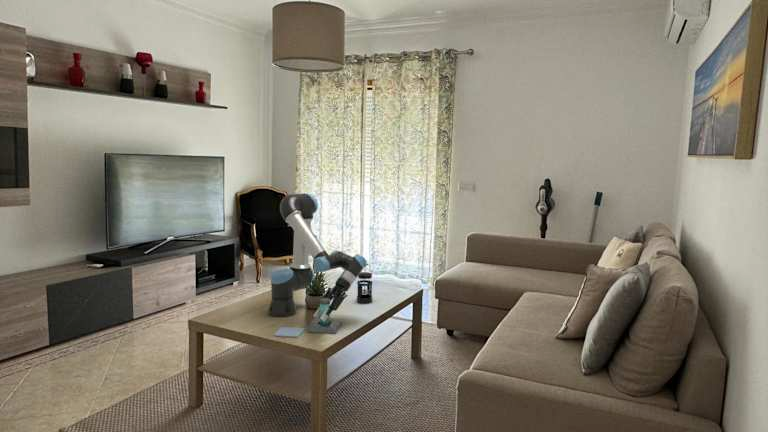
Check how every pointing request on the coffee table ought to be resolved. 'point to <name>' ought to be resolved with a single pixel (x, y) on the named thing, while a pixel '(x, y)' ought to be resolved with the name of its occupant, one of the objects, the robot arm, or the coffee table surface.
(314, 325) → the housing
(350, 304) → the coffee table surface
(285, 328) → the mat
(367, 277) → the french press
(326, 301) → the plug
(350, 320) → the coffee table surface
